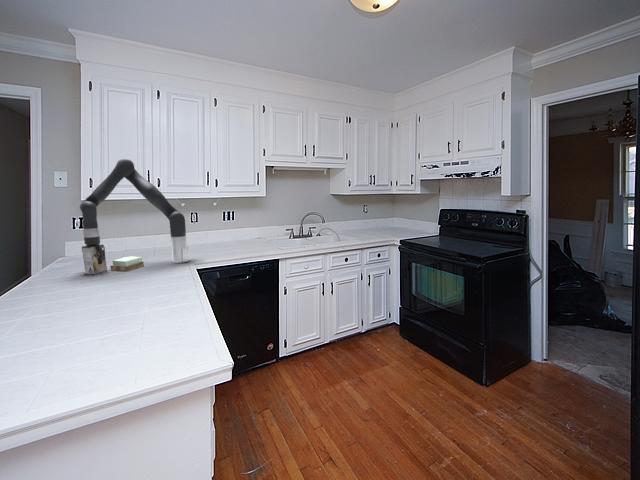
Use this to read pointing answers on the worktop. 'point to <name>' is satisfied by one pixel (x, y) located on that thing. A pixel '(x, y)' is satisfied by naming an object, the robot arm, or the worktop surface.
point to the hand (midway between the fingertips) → (95, 263)
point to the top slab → (127, 261)
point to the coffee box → (93, 260)
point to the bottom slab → (127, 267)
